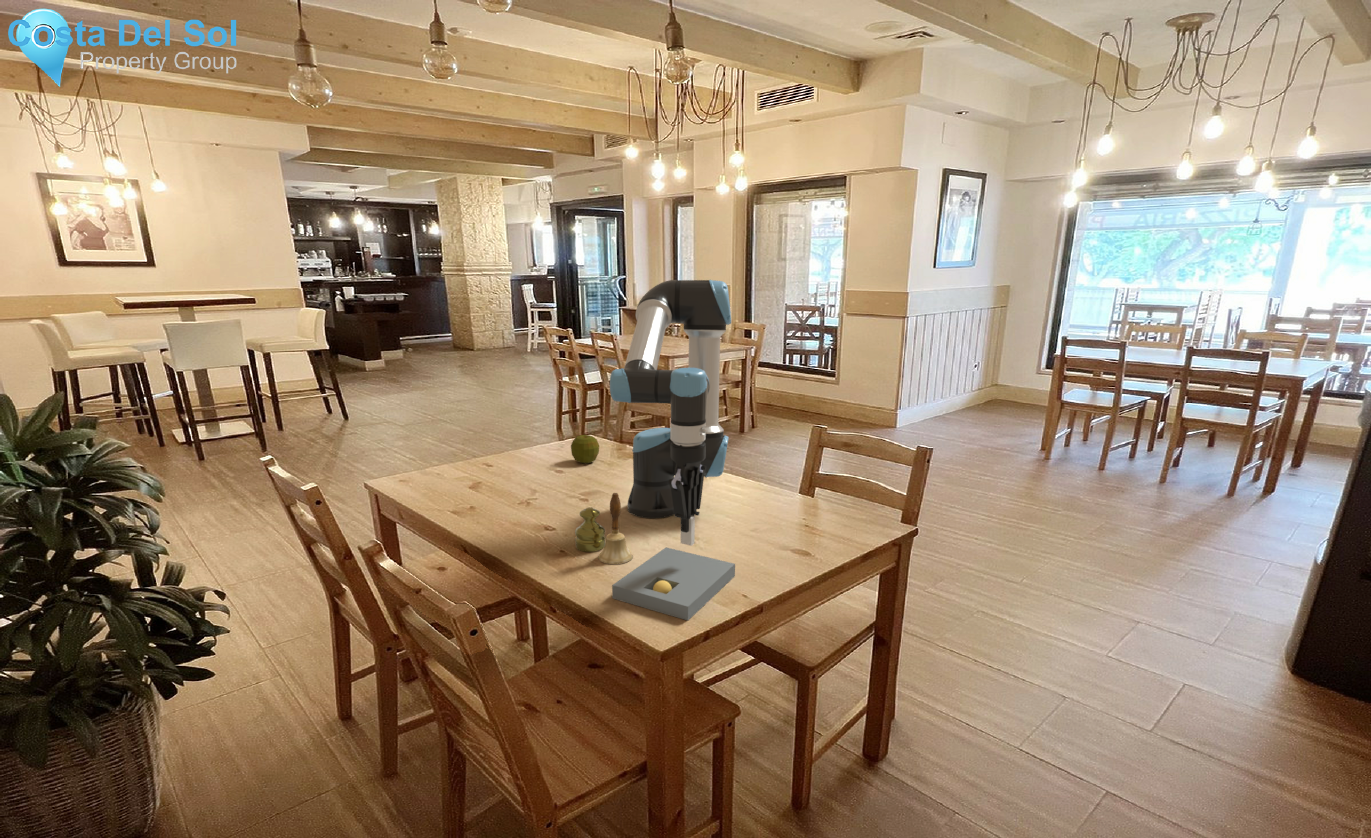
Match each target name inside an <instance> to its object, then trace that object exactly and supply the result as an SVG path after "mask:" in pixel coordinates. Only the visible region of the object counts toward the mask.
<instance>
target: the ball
mask: <svg viewBox="0 0 1371 838" xmlns="http://www.w3.org/2000/svg"><path fill="white" fill-rule="evenodd" d="M671 590H672V587H671V585H670V584H669V583H668V582H667V581H663V580H662V581H658V582H657V583H656V584H655V585H654V587H653V591H657V592H660V593H664V594H667V593H668V592H670V591H671Z"/></svg>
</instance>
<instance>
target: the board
mask: <svg viewBox="0 0 1371 838" xmlns="http://www.w3.org/2000/svg"><path fill="white" fill-rule="evenodd" d="M735 577H736V563H733V562H730V561H725V560H720V559H717V558H712V557H708V556H705V555H704V556H703V555H700V554H697V553H691V552H686V551H682V550H680V549H675V548H671V547H664V548H662V550H660V551H658V552H657V553H655V554H654V555H653V556H652V557H650V558H649V559H647V560H646V561H644V562H643V563H642V564H640V565H639V566H637V567H636V568H635V569H633V570H632V571H630V572H628V573H627V574H626V575H625V576H623V577H622V578H620V579H619V580H617V581H616V582H614V583H613V584H612V585H611V587H612V588H611V589H612V590H611V591H612V593H611V595H612V599H613V600H617V601H619V602H620V601H621V602H624V603H627V604H629V605H630V604H631V605H633V606H638V607H640V608H644V609H647V610H651V611H654V612H657V613H659V614H660V613H662V614H664V615H667V616H671V617H675V618H676V619H677V618H678V619H681V620H683V621H684V620H685V621H690V620H691V619H692V617H693V616H695V615H696V614H697V613H698V612H699V611H700V610H701V609H702V608H703V607H704V606H705V605H706V604H707V603H708V602H710V600H711V599H712V598H714V597H715V596H716V595H717V594H718V593H719V592H720V591H721V590H722V589H723V588H724V587H725V586H727V584H729V582H730V581H731V580H733V579H734V578H735ZM662 580H663V581H667V582H668V583H669V584H670V585H671V587H672V590H671V591H670V592H668V593H667V594H664V593H660V592H657V591H653V587H654V585H655V584H656V583H657V582H658V581H662Z"/></svg>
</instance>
